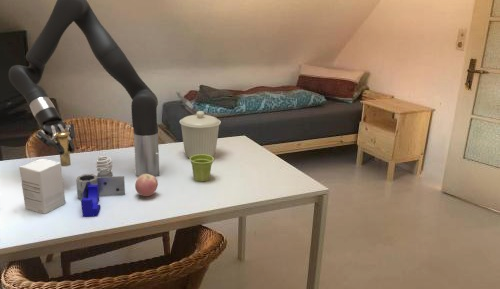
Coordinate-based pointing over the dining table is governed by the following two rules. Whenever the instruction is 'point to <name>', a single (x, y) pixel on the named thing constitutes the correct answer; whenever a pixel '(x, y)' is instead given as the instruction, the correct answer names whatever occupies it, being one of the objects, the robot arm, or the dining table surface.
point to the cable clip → (91, 202)
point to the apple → (146, 184)
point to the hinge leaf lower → (83, 192)
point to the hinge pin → (64, 147)
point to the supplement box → (42, 185)
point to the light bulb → (104, 166)
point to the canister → (200, 134)
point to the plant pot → (201, 166)
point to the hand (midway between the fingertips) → (67, 152)
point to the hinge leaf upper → (103, 184)
